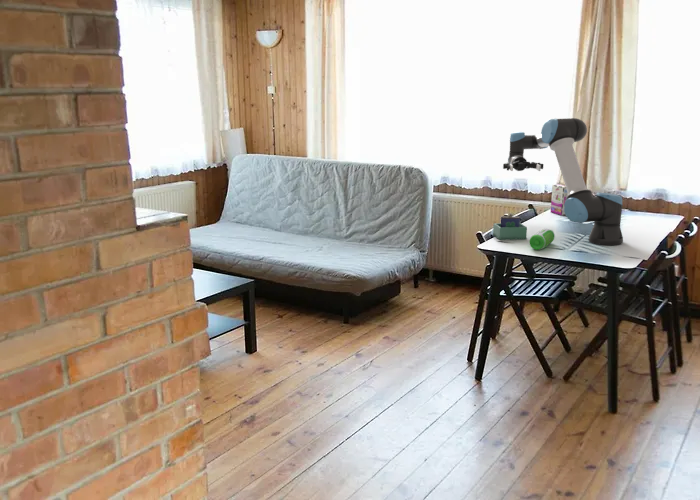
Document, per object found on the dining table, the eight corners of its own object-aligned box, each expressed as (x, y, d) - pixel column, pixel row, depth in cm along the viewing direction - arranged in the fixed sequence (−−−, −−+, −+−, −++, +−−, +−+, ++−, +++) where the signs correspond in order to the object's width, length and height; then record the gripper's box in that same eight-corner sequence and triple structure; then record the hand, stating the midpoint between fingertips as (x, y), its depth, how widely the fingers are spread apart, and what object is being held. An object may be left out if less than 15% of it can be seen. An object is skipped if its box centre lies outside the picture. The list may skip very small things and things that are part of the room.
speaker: (543, 252, 296) (544, 235, 294) (527, 250, 300) (528, 233, 298) (555, 244, 310) (556, 228, 308) (539, 242, 314) (540, 226, 312)
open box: (526, 239, 320) (527, 227, 318) (499, 240, 318) (500, 227, 317) (519, 234, 330) (519, 222, 328) (492, 235, 328) (493, 223, 327)
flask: (518, 234, 325) (519, 212, 322) (519, 235, 322) (520, 213, 320) (499, 234, 325) (500, 212, 323) (500, 235, 323) (501, 214, 320)
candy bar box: (569, 215, 375) (571, 186, 371) (561, 215, 373) (563, 187, 369) (557, 211, 385) (559, 183, 381) (550, 212, 384) (552, 184, 380)
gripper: (542, 170, 351) (550, 175, 330) (494, 170, 353) (500, 175, 332) (543, 156, 349) (551, 160, 328) (495, 156, 351) (501, 160, 330)
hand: (525, 168), depth 330 cm, fingers open, 13 cm apart
